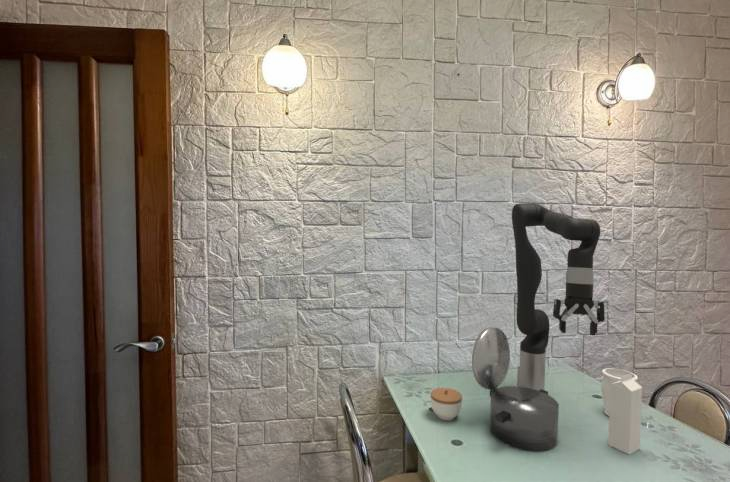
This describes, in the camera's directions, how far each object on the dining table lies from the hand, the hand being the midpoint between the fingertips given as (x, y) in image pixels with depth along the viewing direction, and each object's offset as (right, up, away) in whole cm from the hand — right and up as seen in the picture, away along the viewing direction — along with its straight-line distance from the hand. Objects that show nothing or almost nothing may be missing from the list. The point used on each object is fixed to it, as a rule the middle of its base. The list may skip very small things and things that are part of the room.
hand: (577, 333), depth 120 cm
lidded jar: (-39, -32, +13) cm, 52 cm away
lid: (-23, -11, +10) cm, 27 cm away
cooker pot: (-16, -33, +3) cm, 36 cm away
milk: (+11, -33, -5) cm, 35 cm away
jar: (+22, -32, +15) cm, 42 cm away
